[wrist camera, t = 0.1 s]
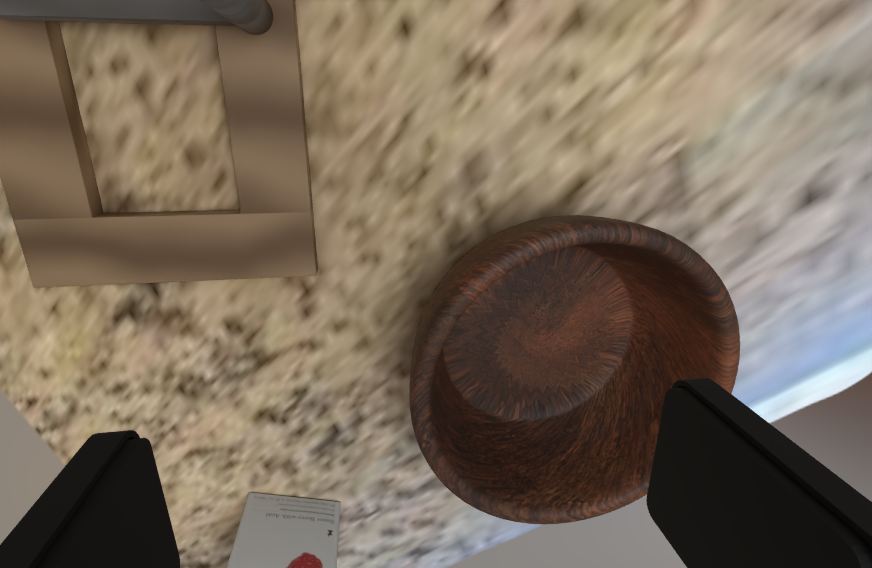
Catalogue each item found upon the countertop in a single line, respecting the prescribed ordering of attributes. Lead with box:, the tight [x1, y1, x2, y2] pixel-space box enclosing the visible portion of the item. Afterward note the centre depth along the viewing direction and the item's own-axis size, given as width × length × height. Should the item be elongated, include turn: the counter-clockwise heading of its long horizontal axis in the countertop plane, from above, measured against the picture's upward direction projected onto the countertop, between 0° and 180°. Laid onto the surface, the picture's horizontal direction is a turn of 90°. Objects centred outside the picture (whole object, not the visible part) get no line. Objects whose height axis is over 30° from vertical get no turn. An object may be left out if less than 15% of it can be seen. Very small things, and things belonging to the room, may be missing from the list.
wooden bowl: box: [410, 215, 740, 524], centre depth 40 cm, size 25×25×10 cm
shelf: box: [0, 0, 318, 288], centre depth 29 cm, size 22×20×12 cm
